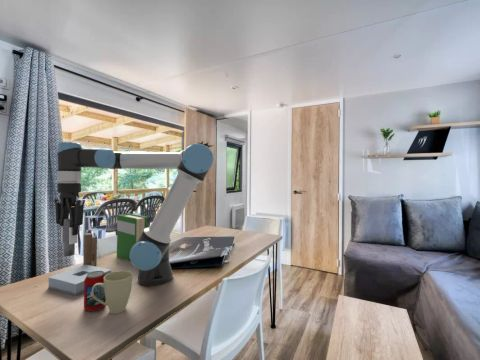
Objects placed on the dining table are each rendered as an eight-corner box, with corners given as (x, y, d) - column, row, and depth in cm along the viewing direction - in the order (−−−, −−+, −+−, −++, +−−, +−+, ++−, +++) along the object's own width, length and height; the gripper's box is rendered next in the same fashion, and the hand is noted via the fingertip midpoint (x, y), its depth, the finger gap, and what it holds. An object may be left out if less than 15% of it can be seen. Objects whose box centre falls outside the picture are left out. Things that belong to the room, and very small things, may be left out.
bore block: (110, 279, 108) (111, 269, 108) (75, 295, 93) (75, 284, 93) (85, 274, 114) (85, 264, 114) (48, 288, 99) (48, 277, 99)
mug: (117, 300, 91) (118, 268, 91) (137, 306, 87) (138, 273, 87) (89, 315, 81) (90, 279, 81) (110, 323, 77) (111, 285, 77)
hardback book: (146, 259, 136) (147, 216, 135) (134, 263, 130) (135, 218, 129) (128, 253, 146) (129, 213, 145) (116, 256, 140) (117, 214, 139)
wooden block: (96, 264, 127) (97, 229, 127) (90, 271, 117) (91, 234, 117) (88, 264, 126) (89, 230, 126) (82, 272, 116) (82, 235, 115)
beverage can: (89, 314, 81) (90, 279, 81) (79, 308, 85) (80, 274, 84) (109, 306, 87) (110, 272, 87) (99, 300, 90) (100, 268, 90)
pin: (76, 253, 95) (77, 218, 95) (67, 256, 92) (68, 219, 91) (70, 252, 96) (70, 217, 96) (60, 255, 93) (61, 219, 92)
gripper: (94, 182, 94) (94, 242, 95) (63, 181, 100) (63, 238, 100) (76, 183, 87) (75, 247, 88) (44, 182, 93) (43, 243, 93)
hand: (69, 242), depth 94 cm, fingers closed on pin, 3 cm apart
